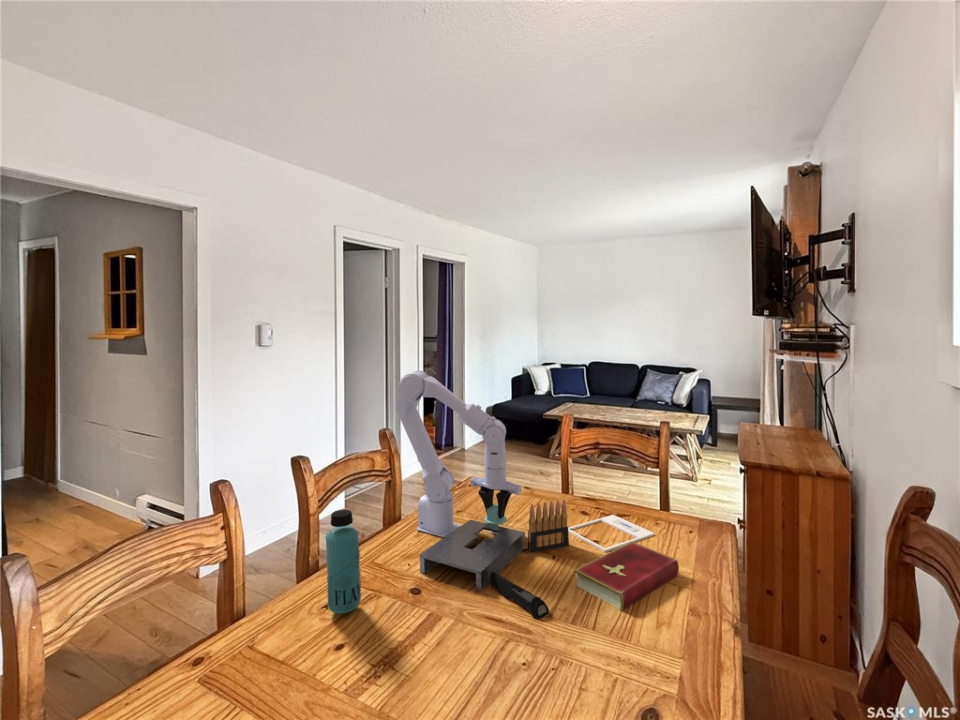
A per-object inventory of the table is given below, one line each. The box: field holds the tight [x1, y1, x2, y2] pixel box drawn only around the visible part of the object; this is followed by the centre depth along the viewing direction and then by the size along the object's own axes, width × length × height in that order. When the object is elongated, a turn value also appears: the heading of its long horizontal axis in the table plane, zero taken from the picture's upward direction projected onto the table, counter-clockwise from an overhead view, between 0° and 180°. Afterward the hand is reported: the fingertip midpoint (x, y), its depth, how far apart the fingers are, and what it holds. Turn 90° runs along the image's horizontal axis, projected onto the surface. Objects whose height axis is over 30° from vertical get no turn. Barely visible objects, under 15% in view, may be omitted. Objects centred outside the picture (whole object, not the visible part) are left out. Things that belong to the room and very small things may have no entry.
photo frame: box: [568, 514, 655, 553], centre depth 126 cm, size 15×1×18 cm
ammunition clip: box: [526, 498, 570, 554], centre depth 118 cm, size 11×2×12 cm, turn 108°
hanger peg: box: [484, 503, 508, 536], centre depth 128 cm, size 6×6×7 cm
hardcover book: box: [573, 541, 680, 612], centre depth 103 cm, size 12×21×4 cm, turn 128°
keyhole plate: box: [419, 519, 526, 592], centre depth 112 cm, size 16×22×4 cm
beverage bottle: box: [325, 508, 362, 614], centre depth 92 cm, size 6×7×20 cm
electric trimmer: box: [489, 572, 550, 620], centre depth 96 cm, size 4×16×3 cm, turn 37°
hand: (495, 515), depth 128 cm, fingers closed on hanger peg, 3 cm apart
